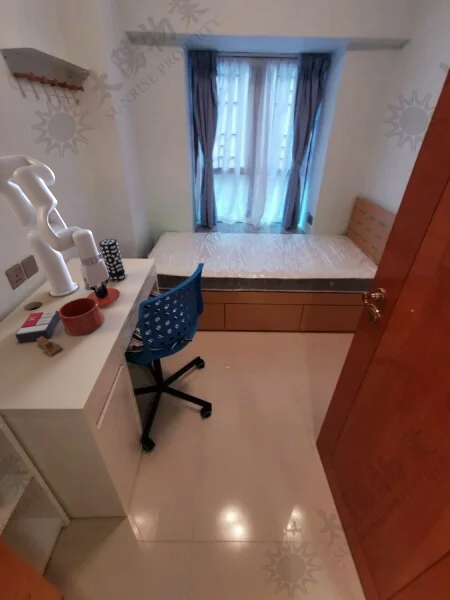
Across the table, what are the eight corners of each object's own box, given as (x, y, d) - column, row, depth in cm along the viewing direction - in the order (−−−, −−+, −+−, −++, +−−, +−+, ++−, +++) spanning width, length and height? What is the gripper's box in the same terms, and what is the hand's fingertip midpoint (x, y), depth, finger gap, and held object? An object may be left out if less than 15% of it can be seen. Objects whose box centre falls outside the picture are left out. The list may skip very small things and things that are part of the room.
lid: (79, 301, 128) (75, 291, 125) (106, 287, 138) (103, 277, 135) (100, 311, 121) (96, 300, 118) (127, 295, 131) (124, 284, 128)
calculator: (57, 308, 119) (45, 329, 106) (61, 317, 121) (49, 338, 109) (29, 312, 118) (13, 333, 105) (33, 321, 120) (18, 342, 107)
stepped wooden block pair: (37, 346, 105) (33, 340, 104) (46, 340, 108) (44, 334, 106) (51, 355, 100) (48, 350, 99) (61, 349, 103) (58, 343, 102)
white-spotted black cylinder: (112, 274, 152) (101, 239, 141) (127, 273, 152) (118, 238, 141) (108, 282, 145) (96, 245, 134) (124, 280, 145) (114, 244, 134)
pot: (59, 328, 114) (51, 311, 109) (89, 310, 124) (83, 294, 119) (79, 339, 107) (72, 322, 103) (109, 320, 117) (104, 303, 112)
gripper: (100, 250, 126) (111, 286, 136) (67, 265, 115) (82, 302, 125) (111, 254, 123) (122, 289, 133) (78, 269, 112) (92, 306, 122)
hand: (102, 295), depth 129 cm, fingers closed on lid, 2 cm apart
